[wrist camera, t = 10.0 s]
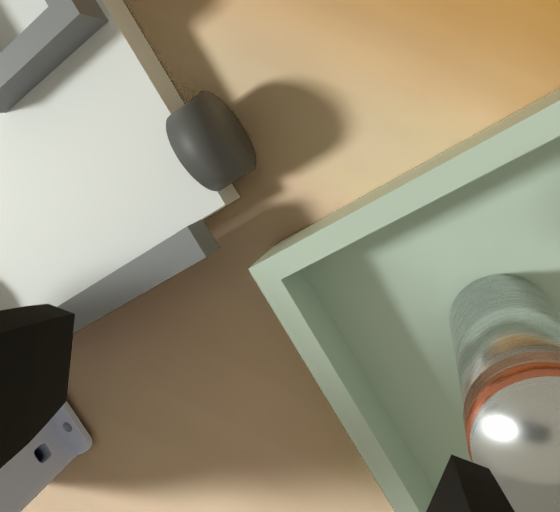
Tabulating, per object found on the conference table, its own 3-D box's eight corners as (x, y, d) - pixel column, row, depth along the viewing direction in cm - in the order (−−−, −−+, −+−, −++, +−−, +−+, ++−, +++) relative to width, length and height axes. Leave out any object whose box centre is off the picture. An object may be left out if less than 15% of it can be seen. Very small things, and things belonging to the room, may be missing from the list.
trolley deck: (289, 205, 18) (264, 223, 16) (31, 354, 24) (-20, 387, 21) (59, -187, 17) (-14, -245, 14) (-160, 71, 22) (-242, 66, 20)
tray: (862, 427, 15) (957, 498, 13) (444, 530, 20) (446, 597, 18) (673, 25, 14) (734, 6, 11) (274, 245, 19) (247, 268, 16)
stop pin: (577, 333, 16) (687, 484, 10) (485, 381, 17) (529, 545, 11) (516, 252, 16) (586, 351, 9) (428, 307, 17) (436, 429, 11)
